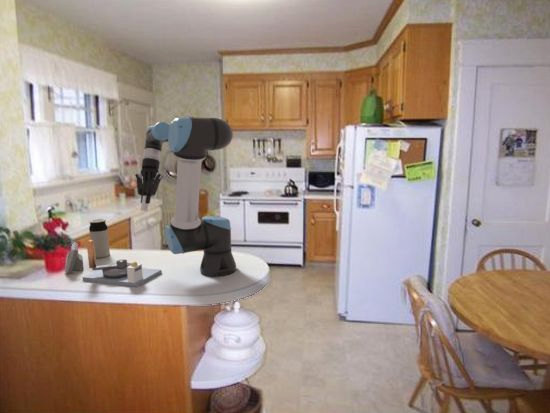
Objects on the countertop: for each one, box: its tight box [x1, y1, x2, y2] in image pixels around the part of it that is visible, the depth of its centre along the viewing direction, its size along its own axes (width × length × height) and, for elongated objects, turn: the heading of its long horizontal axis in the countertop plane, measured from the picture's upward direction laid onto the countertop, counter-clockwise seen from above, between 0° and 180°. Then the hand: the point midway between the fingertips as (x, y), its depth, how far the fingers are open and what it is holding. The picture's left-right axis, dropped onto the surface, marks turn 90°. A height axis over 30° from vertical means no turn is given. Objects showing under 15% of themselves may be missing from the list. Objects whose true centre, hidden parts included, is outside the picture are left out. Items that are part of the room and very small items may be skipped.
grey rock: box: [64, 241, 84, 275], centre depth 167 cm, size 16×9×11 cm, turn 16°
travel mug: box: [88, 218, 111, 259], centre depth 185 cm, size 8×8×18 cm
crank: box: [86, 239, 132, 278], centre depth 154 cm, size 17×12×14 cm
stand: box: [82, 261, 163, 288], centre depth 155 cm, size 26×16×9 cm, turn 72°
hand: (144, 210), depth 167 cm, fingers closed
